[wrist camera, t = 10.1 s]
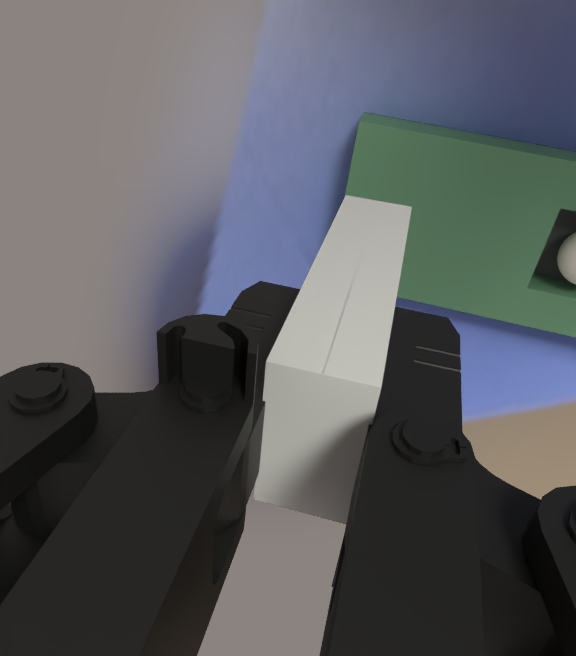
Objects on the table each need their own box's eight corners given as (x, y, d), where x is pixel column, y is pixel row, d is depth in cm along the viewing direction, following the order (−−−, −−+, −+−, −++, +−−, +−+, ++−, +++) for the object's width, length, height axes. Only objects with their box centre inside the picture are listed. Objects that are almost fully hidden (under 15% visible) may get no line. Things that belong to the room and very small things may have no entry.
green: (364, 112, 38) (359, 120, 36) (697, 174, 36) (716, 188, 33) (334, 265, 45) (328, 281, 42) (613, 327, 42) (624, 348, 40)
